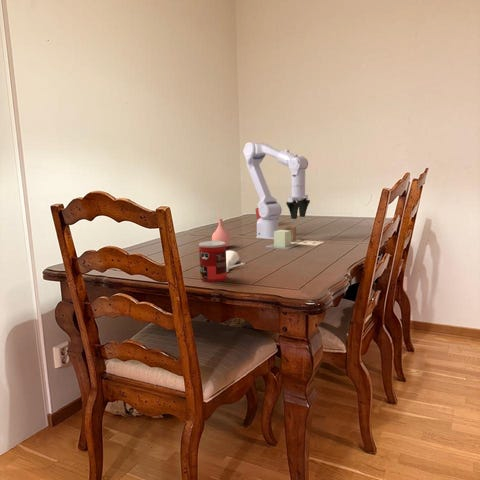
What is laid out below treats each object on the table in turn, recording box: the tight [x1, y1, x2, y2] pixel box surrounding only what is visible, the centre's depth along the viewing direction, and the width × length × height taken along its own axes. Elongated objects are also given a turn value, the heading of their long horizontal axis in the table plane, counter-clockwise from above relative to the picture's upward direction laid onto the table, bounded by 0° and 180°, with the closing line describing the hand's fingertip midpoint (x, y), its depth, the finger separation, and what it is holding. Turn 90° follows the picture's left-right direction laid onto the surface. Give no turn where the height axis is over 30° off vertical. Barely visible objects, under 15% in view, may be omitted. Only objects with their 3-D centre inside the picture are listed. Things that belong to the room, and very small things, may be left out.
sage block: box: [273, 229, 292, 247], centre depth 177 cm, size 5×5×6 cm
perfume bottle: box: [211, 218, 231, 247], centre depth 177 cm, size 8×8×12 cm
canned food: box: [198, 240, 228, 283], centre depth 131 cm, size 8×8×11 cm
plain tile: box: [291, 239, 303, 244], centre depth 189 cm, size 9×9×1 cm
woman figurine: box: [226, 250, 246, 273], centre depth 147 cm, size 12×4×18 cm
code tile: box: [295, 239, 324, 246], centre depth 184 cm, size 9×9×1 cm
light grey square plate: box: [265, 243, 299, 251], centre depth 178 cm, size 10×10×1 cm
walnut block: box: [281, 225, 297, 242], centre depth 189 cm, size 5×5×6 cm
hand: (298, 217), depth 187 cm, fingers open, 7 cm apart
